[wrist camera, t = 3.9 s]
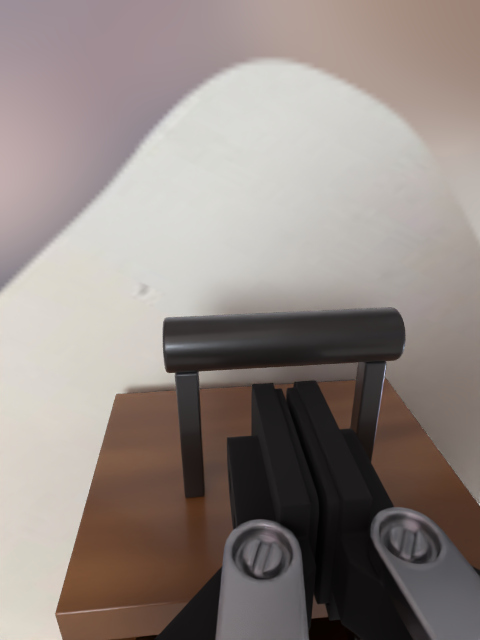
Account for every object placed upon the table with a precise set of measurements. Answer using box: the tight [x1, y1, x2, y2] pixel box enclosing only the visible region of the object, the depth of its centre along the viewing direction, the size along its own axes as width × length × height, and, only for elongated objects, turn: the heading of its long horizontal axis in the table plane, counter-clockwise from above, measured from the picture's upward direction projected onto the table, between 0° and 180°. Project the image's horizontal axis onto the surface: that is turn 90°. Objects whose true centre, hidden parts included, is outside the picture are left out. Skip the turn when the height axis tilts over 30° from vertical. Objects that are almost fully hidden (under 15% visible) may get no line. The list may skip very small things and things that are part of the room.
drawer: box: [55, 307, 480, 640], centre depth 16 cm, size 19×11×9 cm, turn 0°
